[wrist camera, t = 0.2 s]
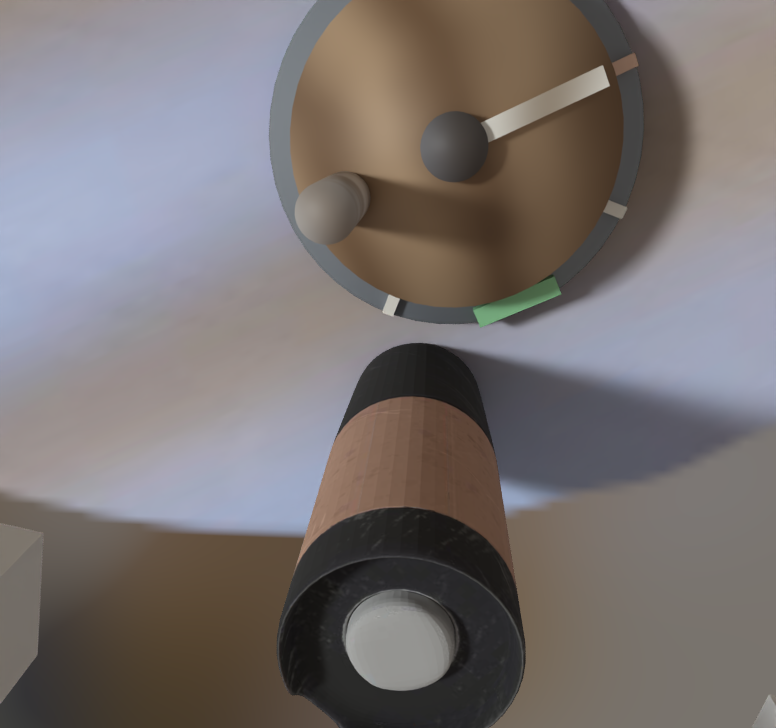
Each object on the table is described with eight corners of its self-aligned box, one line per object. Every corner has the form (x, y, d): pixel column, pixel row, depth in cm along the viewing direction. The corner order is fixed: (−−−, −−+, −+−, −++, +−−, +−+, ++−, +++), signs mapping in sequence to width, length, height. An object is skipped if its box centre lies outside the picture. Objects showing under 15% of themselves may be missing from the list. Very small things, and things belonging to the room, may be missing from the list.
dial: (377, 341, 36) (361, 398, 29) (243, 62, 32) (184, 43, 25) (654, 225, 33) (718, 254, 26) (547, -99, 29) (585, -175, 22)
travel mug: (488, 338, 37) (540, 555, 19) (482, 463, 40) (522, 765, 21) (349, 335, 38) (263, 545, 19) (351, 459, 40) (278, 751, 22)
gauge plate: (300, -97, 31) (293, -109, 30) (687, -22, 31) (701, -30, 30) (255, 283, 37) (247, 290, 36) (579, 346, 37) (585, 356, 36)
